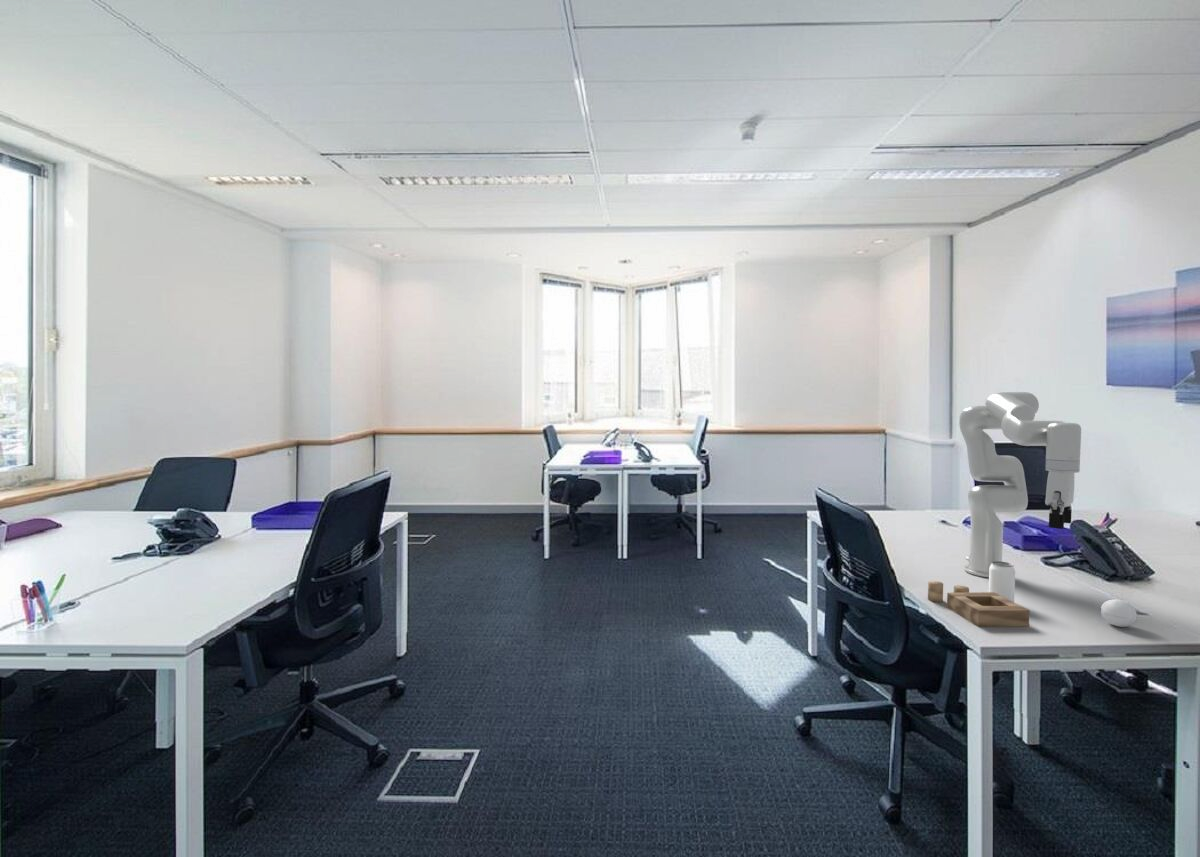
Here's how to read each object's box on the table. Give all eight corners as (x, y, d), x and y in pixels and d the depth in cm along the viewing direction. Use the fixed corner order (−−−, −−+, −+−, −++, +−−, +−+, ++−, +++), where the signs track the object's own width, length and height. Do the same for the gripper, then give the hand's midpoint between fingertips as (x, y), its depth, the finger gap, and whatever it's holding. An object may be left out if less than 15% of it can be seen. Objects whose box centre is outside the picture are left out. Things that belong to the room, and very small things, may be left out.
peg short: (950, 597, 176) (951, 585, 175) (963, 597, 176) (963, 585, 175) (958, 602, 172) (959, 589, 171) (971, 602, 172) (972, 589, 171)
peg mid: (925, 597, 176) (925, 580, 175) (937, 597, 176) (938, 580, 175) (932, 602, 172) (933, 585, 171) (945, 602, 172) (946, 585, 171)
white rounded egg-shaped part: (1117, 620, 157) (1118, 594, 157) (1144, 631, 150) (1145, 604, 149) (1083, 620, 157) (1084, 595, 156) (1108, 632, 149) (1109, 605, 149)
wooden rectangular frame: (947, 607, 168) (947, 592, 167) (993, 607, 168) (994, 592, 167) (977, 626, 154) (978, 610, 154) (1028, 626, 154) (1029, 610, 153)
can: (986, 602, 172) (987, 563, 171) (990, 596, 176) (992, 559, 175) (1011, 607, 167) (1013, 568, 166) (1016, 601, 171) (1017, 563, 171)
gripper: (1052, 462, 167) (1050, 518, 168) (1038, 467, 155) (1036, 527, 157) (1085, 464, 161) (1083, 522, 162) (1073, 470, 150) (1070, 532, 151)
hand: (1060, 525), depth 159 cm, fingers open, 9 cm apart
